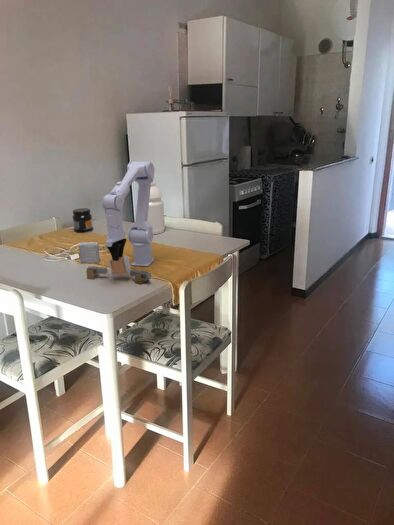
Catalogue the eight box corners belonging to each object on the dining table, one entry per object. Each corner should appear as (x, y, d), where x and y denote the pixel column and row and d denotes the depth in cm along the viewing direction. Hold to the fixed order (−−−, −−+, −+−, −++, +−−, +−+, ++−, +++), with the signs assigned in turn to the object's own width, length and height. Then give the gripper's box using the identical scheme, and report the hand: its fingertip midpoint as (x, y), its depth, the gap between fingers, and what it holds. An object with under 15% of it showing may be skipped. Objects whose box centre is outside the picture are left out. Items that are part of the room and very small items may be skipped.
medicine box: (100, 259, 195) (98, 241, 192) (98, 263, 191) (96, 244, 188) (82, 260, 195) (80, 242, 192) (80, 263, 190) (78, 245, 187)
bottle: (135, 234, 234) (131, 182, 224) (145, 227, 246) (142, 178, 237) (159, 235, 230) (156, 183, 220) (168, 229, 242) (166, 179, 233)
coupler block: (115, 271, 174) (112, 257, 172) (131, 270, 172) (128, 256, 170) (112, 274, 171) (108, 260, 169) (128, 273, 169) (124, 258, 167)
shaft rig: (91, 274, 178) (90, 265, 176) (155, 278, 172) (154, 269, 170) (83, 280, 171) (82, 271, 170) (149, 285, 165) (149, 275, 164)
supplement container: (97, 229, 245) (95, 209, 241) (83, 234, 237) (81, 212, 232) (84, 227, 250) (81, 207, 246) (70, 231, 242) (67, 210, 238)
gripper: (112, 220, 172) (115, 252, 177) (97, 230, 159) (100, 264, 164) (129, 221, 171) (131, 253, 176) (114, 230, 158) (117, 265, 162)
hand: (117, 258), depth 170 cm, fingers closed on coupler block, 3 cm apart
